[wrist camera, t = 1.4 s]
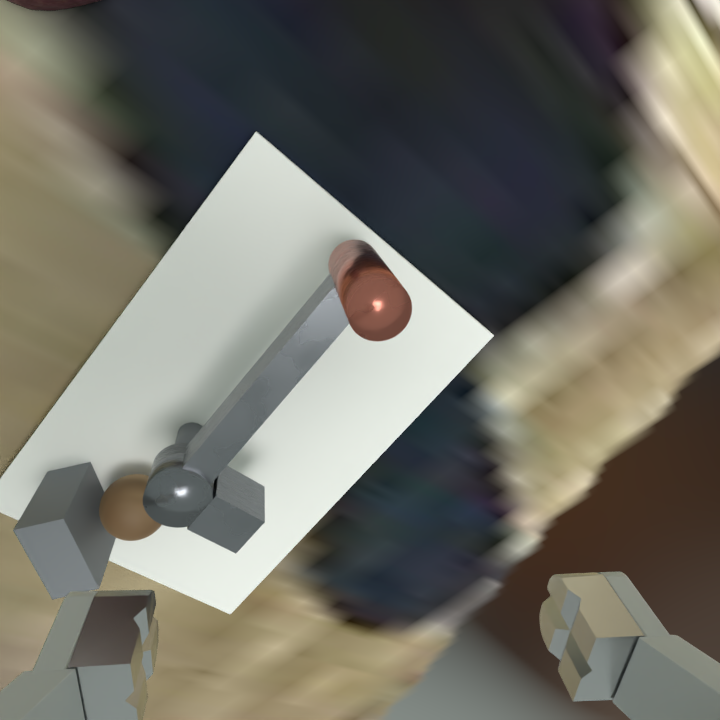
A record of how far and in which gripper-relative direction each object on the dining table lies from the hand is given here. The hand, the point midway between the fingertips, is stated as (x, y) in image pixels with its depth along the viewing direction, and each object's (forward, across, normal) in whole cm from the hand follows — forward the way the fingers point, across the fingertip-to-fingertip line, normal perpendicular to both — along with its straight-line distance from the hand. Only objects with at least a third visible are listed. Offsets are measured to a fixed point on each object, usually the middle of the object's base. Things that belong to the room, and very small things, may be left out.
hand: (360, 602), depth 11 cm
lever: (+23, +1, +7) cm, 24 cm away
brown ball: (+26, +12, +18) cm, 34 cm away
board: (+28, +4, +12) cm, 31 cm away
